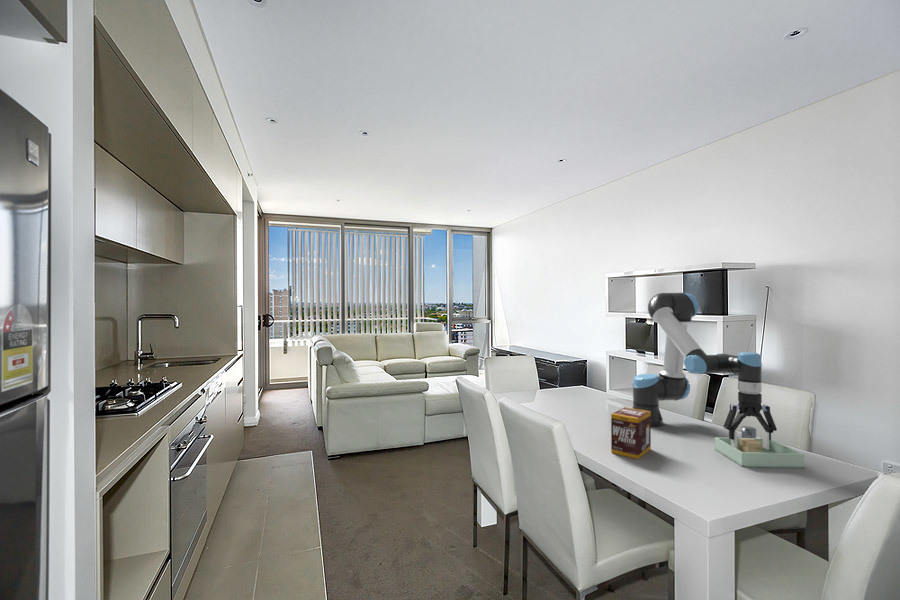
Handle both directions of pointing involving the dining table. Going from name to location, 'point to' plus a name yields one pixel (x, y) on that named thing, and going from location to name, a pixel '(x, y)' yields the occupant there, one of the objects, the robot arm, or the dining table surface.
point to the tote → (761, 454)
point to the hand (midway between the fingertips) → (749, 448)
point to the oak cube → (750, 445)
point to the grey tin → (748, 432)
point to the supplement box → (631, 432)
